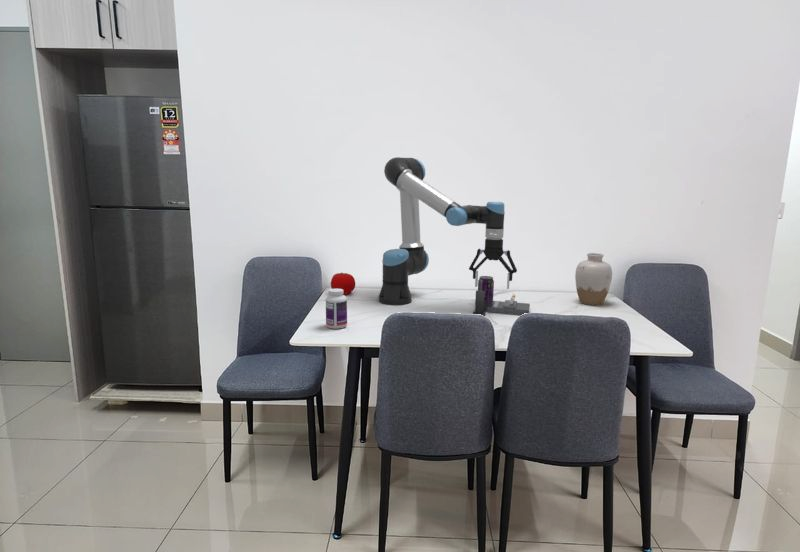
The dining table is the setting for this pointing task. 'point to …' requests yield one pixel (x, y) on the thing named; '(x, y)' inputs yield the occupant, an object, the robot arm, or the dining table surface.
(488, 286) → the beverage can
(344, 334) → the dining table surface
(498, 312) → the breaker panel
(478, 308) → the cord post
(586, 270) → the vase
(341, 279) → the tomato
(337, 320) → the pill bottle
